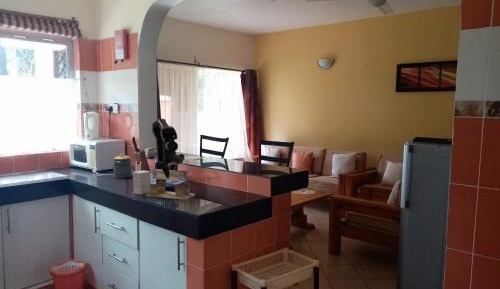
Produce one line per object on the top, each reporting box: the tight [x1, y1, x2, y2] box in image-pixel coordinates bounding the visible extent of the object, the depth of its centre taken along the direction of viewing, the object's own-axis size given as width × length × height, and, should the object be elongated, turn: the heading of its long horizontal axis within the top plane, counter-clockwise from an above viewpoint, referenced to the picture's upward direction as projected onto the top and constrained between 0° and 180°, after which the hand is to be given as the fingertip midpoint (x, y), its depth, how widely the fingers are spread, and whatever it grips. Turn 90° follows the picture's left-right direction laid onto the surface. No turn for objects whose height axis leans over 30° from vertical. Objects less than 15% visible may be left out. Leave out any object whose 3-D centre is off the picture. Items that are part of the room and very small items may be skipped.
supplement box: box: [132, 170, 152, 195], centre depth 216 cm, size 7×7×13 cm
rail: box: [151, 169, 188, 182], centre depth 207 cm, size 4×20×5 cm, turn 70°
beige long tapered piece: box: [144, 181, 196, 200], centre depth 208 cm, size 10×26×7 cm, turn 70°
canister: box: [112, 152, 133, 180], centre depth 269 cm, size 13×13×18 cm
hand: (169, 177), depth 207 cm, fingers closed on rail, 3 cm apart
